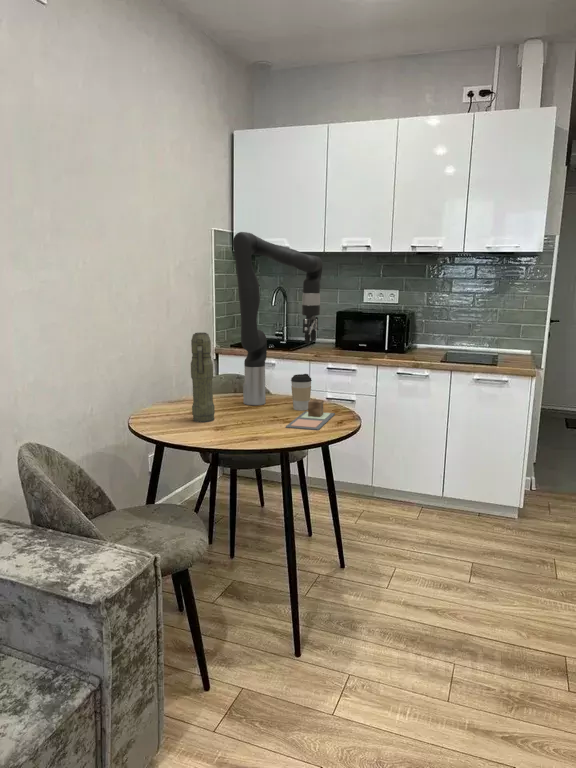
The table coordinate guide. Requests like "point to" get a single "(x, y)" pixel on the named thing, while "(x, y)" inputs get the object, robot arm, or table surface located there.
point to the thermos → (202, 378)
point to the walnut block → (315, 408)
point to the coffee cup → (301, 391)
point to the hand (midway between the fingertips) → (310, 342)
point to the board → (310, 421)
